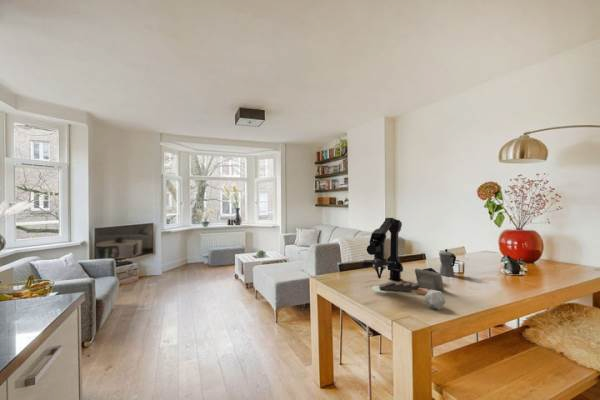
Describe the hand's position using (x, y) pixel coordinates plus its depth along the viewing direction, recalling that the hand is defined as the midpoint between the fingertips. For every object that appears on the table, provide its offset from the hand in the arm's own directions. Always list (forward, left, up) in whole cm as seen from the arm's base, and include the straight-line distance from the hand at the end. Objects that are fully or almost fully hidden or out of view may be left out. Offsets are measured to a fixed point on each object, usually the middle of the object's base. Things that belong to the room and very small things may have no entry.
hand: (379, 278), depth 162 cm
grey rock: (-5, +33, -7) cm, 34 cm away
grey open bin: (-38, +3, -7) cm, 39 cm away
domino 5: (-12, +12, -5) cm, 18 cm away
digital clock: (-27, +13, -7) cm, 31 cm away
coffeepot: (-62, 0, -7) cm, 62 cm away
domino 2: (-3, +3, -5) cm, 7 cm away
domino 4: (-9, +9, -6) cm, 14 cm away
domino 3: (-6, +6, -6) cm, 10 cm away
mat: (-6, +5, -6) cm, 10 cm away
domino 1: (0, 0, -6) cm, 6 cm away
